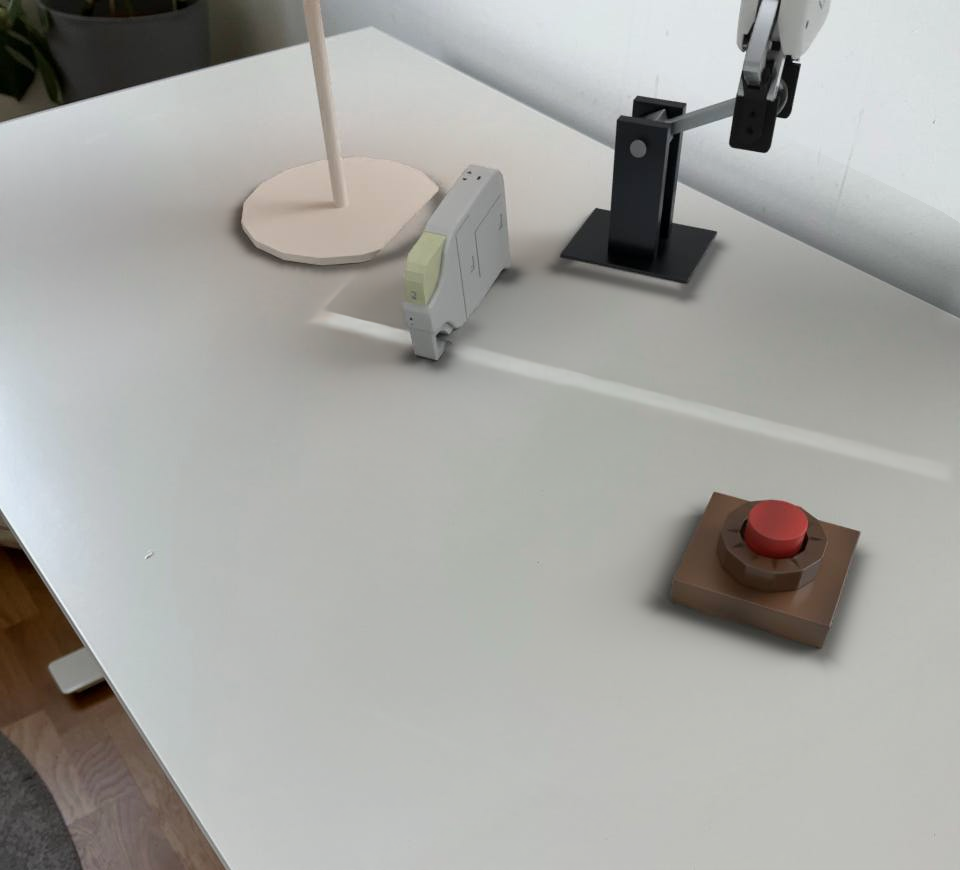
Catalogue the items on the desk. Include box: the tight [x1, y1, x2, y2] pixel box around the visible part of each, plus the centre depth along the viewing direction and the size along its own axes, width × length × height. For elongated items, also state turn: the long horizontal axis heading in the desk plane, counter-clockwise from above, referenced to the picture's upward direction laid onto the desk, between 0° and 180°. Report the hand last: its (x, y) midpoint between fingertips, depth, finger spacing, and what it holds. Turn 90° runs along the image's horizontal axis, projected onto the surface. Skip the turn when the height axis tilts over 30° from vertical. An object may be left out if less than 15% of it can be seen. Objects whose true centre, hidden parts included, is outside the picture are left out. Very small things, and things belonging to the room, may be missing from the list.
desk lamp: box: [240, 0, 440, 266], centre depth 86 cm, size 30×30×31 cm
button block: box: [668, 491, 862, 649], centre depth 64 cm, size 10×9×4 cm
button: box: [744, 499, 808, 559], centre depth 62 cm, size 4×4×2 cm
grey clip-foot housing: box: [402, 164, 512, 361], centre depth 82 cm, size 11×3×15 cm
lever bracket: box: [559, 95, 718, 285], centre depth 86 cm, size 12×9×13 cm
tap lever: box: [639, 73, 788, 141], centre depth 80 cm, size 13×3×3 cm, turn 64°
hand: (760, 129), depth 79 cm, fingers open, 5 cm apart
